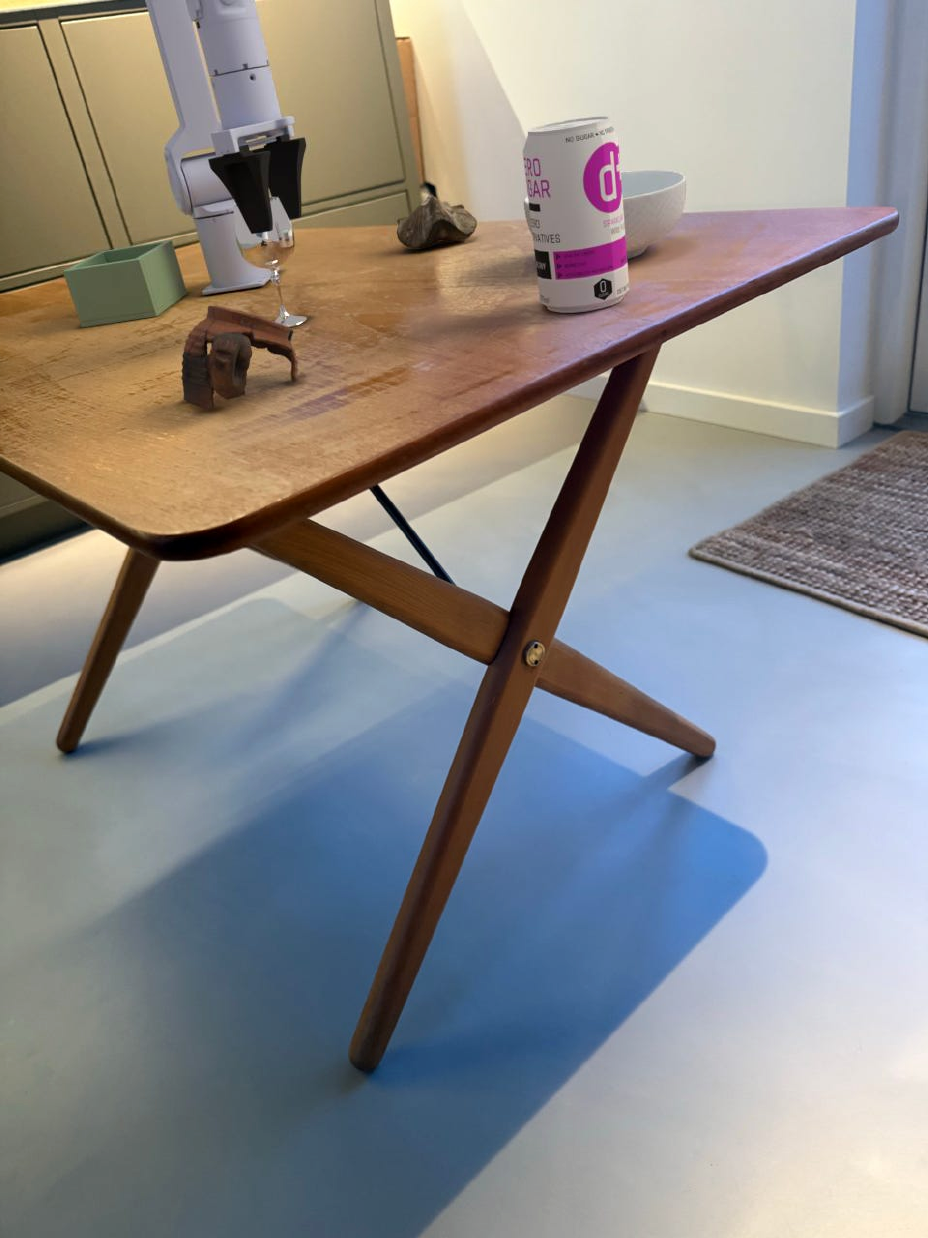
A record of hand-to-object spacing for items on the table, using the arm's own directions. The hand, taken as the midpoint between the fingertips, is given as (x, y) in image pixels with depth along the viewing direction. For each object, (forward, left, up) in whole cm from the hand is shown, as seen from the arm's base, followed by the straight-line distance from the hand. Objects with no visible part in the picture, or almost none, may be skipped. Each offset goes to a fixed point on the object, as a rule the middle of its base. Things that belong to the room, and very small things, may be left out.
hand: (277, 225), depth 100 cm
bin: (-19, -26, -10) cm, 33 cm away
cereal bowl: (-10, +32, -10) cm, 35 cm away
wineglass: (0, -2, -10) cm, 10 cm away
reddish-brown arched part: (+24, 0, -10) cm, 26 cm away
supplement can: (+9, +29, -10) cm, 32 cm away
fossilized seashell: (-32, +11, -10) cm, 35 cm away
